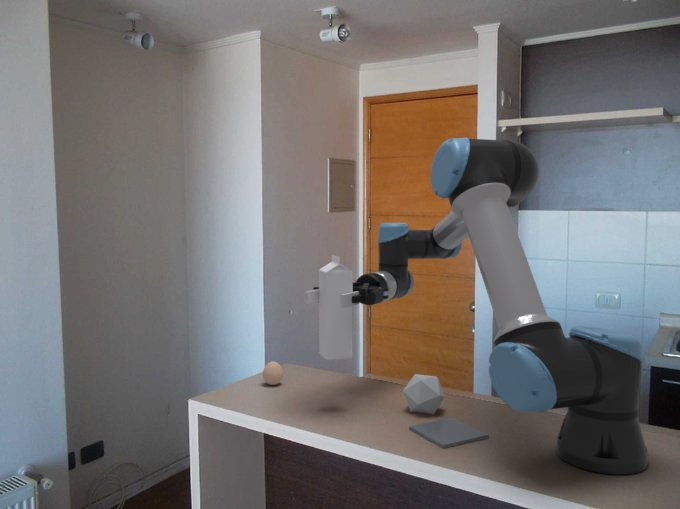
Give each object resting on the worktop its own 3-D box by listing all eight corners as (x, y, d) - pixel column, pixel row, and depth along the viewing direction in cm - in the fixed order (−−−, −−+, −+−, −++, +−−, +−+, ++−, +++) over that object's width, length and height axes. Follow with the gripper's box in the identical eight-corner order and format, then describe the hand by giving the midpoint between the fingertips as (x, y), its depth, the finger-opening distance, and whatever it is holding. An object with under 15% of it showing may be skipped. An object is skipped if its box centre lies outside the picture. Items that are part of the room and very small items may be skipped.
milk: (326, 360, 131) (325, 257, 129) (318, 354, 136) (318, 255, 135) (353, 358, 132) (352, 256, 131) (345, 351, 138) (344, 254, 136)
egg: (287, 385, 153) (286, 362, 153) (269, 389, 150) (269, 365, 150) (276, 380, 157) (276, 358, 157) (259, 384, 154) (259, 361, 154)
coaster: (488, 437, 119) (488, 434, 119) (443, 448, 114) (443, 445, 114) (452, 420, 129) (452, 417, 129) (409, 429, 123) (409, 426, 123)
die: (449, 411, 136) (431, 371, 140) (452, 403, 129) (432, 361, 133) (415, 425, 136) (398, 385, 140) (416, 418, 128) (398, 376, 132)
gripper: (414, 307, 143) (367, 322, 124) (337, 300, 154) (283, 312, 135) (414, 275, 143) (367, 285, 124) (337, 270, 154) (283, 279, 135)
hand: (323, 299), depth 129 cm, fingers closed on milk, 8 cm apart
